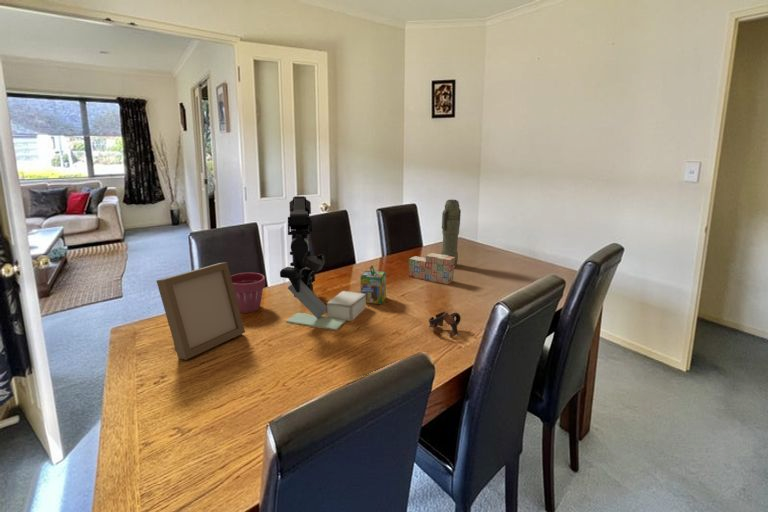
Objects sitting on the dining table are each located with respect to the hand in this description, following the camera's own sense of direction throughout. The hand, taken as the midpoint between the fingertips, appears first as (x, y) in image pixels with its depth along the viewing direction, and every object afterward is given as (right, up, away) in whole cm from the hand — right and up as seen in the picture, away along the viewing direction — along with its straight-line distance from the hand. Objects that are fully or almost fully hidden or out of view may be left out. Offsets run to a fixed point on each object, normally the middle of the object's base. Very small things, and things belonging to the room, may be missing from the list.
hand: (301, 290), depth 153 cm
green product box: (+26, -6, +23) cm, 35 cm away
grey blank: (0, -4, +2) cm, 5 cm away
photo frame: (-29, -16, -15) cm, 37 cm away
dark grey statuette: (+65, +7, +73) cm, 98 cm away
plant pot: (-24, -8, +13) cm, 28 cm away
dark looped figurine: (+52, -14, -5) cm, 54 cm away
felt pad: (+5, -12, +1) cm, 13 cm away
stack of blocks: (+53, +1, +50) cm, 73 cm away
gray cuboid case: (+16, -9, +10) cm, 21 cm away
